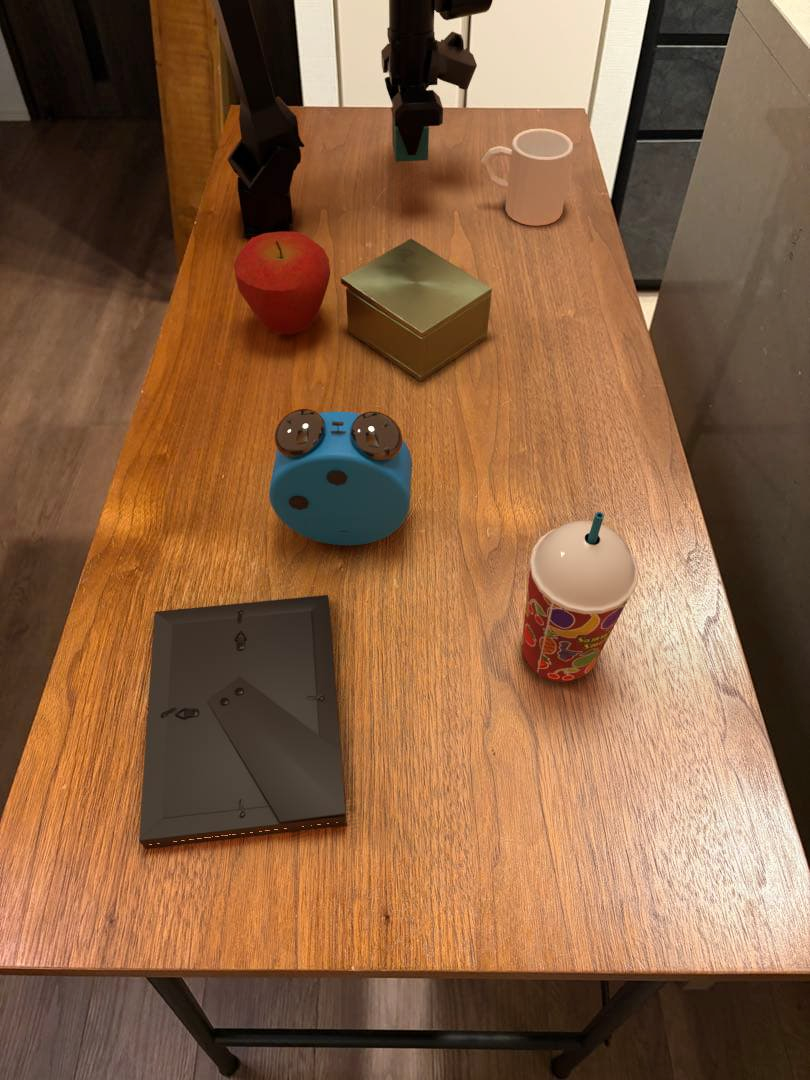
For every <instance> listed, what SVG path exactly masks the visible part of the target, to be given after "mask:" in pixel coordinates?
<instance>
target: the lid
mask: <svg viewBox="0 0 810 1080" xmlns="http://www.w3.org/2000/svg"><path fill="white" fill-rule="evenodd" d="M340 283H341V285H343V286H344V287H346V289H347V288H349V289H350V290H352V291H353V292H355V293H356V294H358V295H359V296H361V297H362V298H364V299H365V300H366V301H368V302H369V303H371V304H372V305H374V306H375V307H377V308H378V309H380V310H381V311H383V312H384V313H386V314H387V315H389V316H390V317H392V318H393V319H395V320H396V321H397V322H399V323H400V324H402V325H403V326H405V327H406V328H408V329H409V330H411V331H412V332H414V333H415V334H417V335H418V336H420V337H421V338H423V337H425V336H426V335H428V334H429V333H431V332H432V331H434V330H435V329H437V328H439V327H440V326H442V325H443V324H445V323H446V322H448V321H449V320H451V319H453V318H454V317H456V316H457V315H459V314H460V313H462V312H464V311H465V310H467V309H468V308H470V307H471V306H473V305H474V304H476V303H478V302H479V301H481V300H482V299H484V298H485V297H487V296H488V295H490V294H491V295H492V292H493V288H492V287H491V286H490V285H488V284H486V283H484V282H483V281H481V280H480V279H478V278H476V277H475V276H473V275H471V273H468V272H467V271H465V270H463V269H462V268H460V267H458V266H457V265H455V264H454V263H452V262H450V261H449V260H447V259H445V258H444V257H443V256H441V255H440V254H437V253H436V252H434V251H433V250H431V249H429V248H428V247H426V246H424V245H423V244H421V243H420V242H418V241H416V240H415V239H413V238H409V239H407V240H406V241H404V242H402V243H400V244H398V245H397V246H395V247H393V248H391V249H390V250H388V251H386V252H385V253H382V254H381V255H379V256H377V257H375V258H374V259H372V260H370V261H368V262H366V263H364V264H363V265H361V266H359V267H358V268H356V269H354V270H352V271H350V272H349V273H347V274H345V275H344V276H342V277H341V278H340Z"/></svg>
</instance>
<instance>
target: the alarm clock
mask: <svg viewBox="0 0 810 1080" xmlns="http://www.w3.org/2000/svg"><path fill="white" fill-rule="evenodd" d="M274 444H275V447H276V453H275V458H274V463H273V468H272V473H271V479H270V484H269V490H268V491H269V493H268V494H269V501H270V502H269V503H270V506H271V508H272V510H273V512H274V513H275V515H276V516H277V517H278V520H280V521H281V523H283V525H285V526H286V527H287V528H289V529H290V530H292V531H293V532H295V533H296V534H298V535H300V536H302V537H304V538H307V539H309V540H311V541H316V542H318V543H321V544H327V545H333V546H360V545H366V544H370V543H375V542H378V541H380V540H382V539H385V538H387V537H388V536H390V535H392V534H394V533H395V532H396V531H397V530H399V528H400V527H402V525H403V524H404V522H405V521H406V519H407V517H408V514H409V512H410V507H411V493H412V491H411V490H412V473H413V460H412V455H411V452H410V449H409V447H408V445H407V443H406V442H405V440H404V439H403V434H402V430H401V428H400V427H399V425H398V424H397V422H396V421H395V420H394V419H393V418H392V417H390V416H389V415H387V414H385V413H382V412H380V411H367V412H363V413H357V412H352V411H339V410H338V411H337V410H336V411H324V412H319V413H318V412H317V411H315V410H313V409H311V408H310V409H308V408H301V409H300V408H299V409H295V410H293V411H291V412H289V413H288V414H287V415H285V416H284V417H283V418H282V419H281V420H280V421H279V423H278V425H277V426H276V429H275V433H274Z"/></svg>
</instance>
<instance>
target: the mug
mask: <svg viewBox="0 0 810 1080" xmlns="http://www.w3.org/2000/svg"><path fill="white" fill-rule="evenodd" d="M573 150H574V144H573V141H572V140H571V138H570V137H569V136H567V135H566V134H564V133H562V132H560V131H557V130H554V129H550V128H540V127H539V128H530V129H527V130H523V131H521V132H519V133H518V134H516V135H515V136H514V137H513V139H512V144H511V148H509V147H506V146H503V145H498V146H494V147H491V148H489V149H488V150H487V152H486V153H485V154H484V156H483V158H482V159H481V165H482V167H483V170H484V172H485V176H486V178H487V180H488V181H489V182H491V183H492V184H494V185H495V186H497V187H499V188H502V189H504V190H506V196H505V209H504V210H505V212H506V214H507V216H508V217H509V218H510V219H512V221H515V222H517V223H519V224H522V225H526V226H533V227H534V226H536V227H541V226H547V225H550V224H552V223H555V222H556V221H557V220H559V219H560V217H561V216H562V214H563V210H564V204H565V198H566V192H567V186H568V181H569V175H570V169H571V163H572V156H573ZM502 155H504V156H507V157H509V158H510V162H509V171H508V178H507V179H508V180H504V179H502V178H500V177H499V176H498V175H496V174H495V173H494V171H493V168H492V165H491V164H490V163H491V162H492V160H493V159H494V158H495V157H498V156H502Z"/></svg>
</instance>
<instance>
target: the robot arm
mask: <svg viewBox="0 0 810 1080" xmlns="http://www.w3.org/2000/svg"><path fill="white" fill-rule="evenodd" d="M493 1H494V0H388V27H387V33H386V35H387V40H388V43H387V44H386V45H385V46H384V47H383V48H382V49H381V51H380V53H381V56H380V57H381V59H380V60H381V68H382V73H383V74H388V76H386V77H384V84H385V87H386V91H387V93H388V96H389V100H390V101H391V105H392V106H391V107H390V109H391V116H392V115H393V119H394V123H395V126H397V128H398V130H399V133H400V135H401V138H402V140H403V143H404V145H405V148H406V150H407V153H408V155H416V153H417V150H418V146H419V143H420V139H421V136H422V132H423V129H424V126H428V127H438V126H441V125H442V124H443V123H444V118H443V117H444V108H443V107H444V106H443V104H442V101H441V98H440V96H439V95H438V94H437V93H436V91H435V90H434V89H428V88H429V87H430V86H438V81H439V80H440V81H442V82H444V83H447V84H451V85H453V86H457V87H458V89H461V90H463V91H466V90H468V89H469V86H470V84H471V81H472V79H473V77H474V74H475V71H476V69H477V68H478V67H477V66H478V64H477V62H476V59H475V56H474V54H473V53H472V52H471V51H470V50H469V48H465V46H464V45H465V43H464V38H463V36H462V34H461V33H457V32H455V31H451V32H449V34H448V35H447V36H446V37H445V38H444V39H443V38H442V39H440V40H438V39H436V38H435V37H436V36H435V33H436V32H435V12H436V13H438V14H439V15H440V17H441V18H442V19H443V20H445V21H450V20H455V19H460V18H465V17H470V16H474V15H479V14H484V13H487V12H488V11H489V10H490V9H491V7H492V5H493ZM210 3H211V6H212V9H213V12H214V16H215V19H216V23H217V26H218V28H219V33H220V36H221V39H222V42H223V46H224V50H225V52H226V56H227V59H228V63H229V66H230V70H231V74H232V76H233V80H234V84H235V86H236V90H237V93H238V97H239V113H238V115H239V116H238V123H239V131H240V140H239V141H238V142H237V143H236V145H235V147H234V148H233V150H232V151H231V152H230V154H229V156H228V157H227V162H228V163H229V165H230V167H231V169H232V171H233V172H234V173H235V174H236V175H237V176H238V177H237V194H238V201H239V208H240V214H241V220H242V237H244V238H246V239H247V238H253V237H256V236H259V235H261V234H264V233H272V232H292V231H291V225H293V224H294V213H293V204H292V195H291V194H292V193H291V185H292V181H293V176H294V172H295V171H296V169H297V167H298V166H299V164H300V163H301V162H302V161H301V160H302V151H301V148H305V143H304V142H303V141H302V140H301V137H300V133H299V122H298V118H297V115H296V114H295V112H293V111H292V110H291V109H290V108H289V106H288V105H287V104H286V103H285V102H284V101H283V100H282V98H281V97H280V96H275V92H274V88H273V85H272V80H271V76H270V73H269V69H268V65H267V61H266V57H265V53H264V49H263V46H262V42H261V38H260V34H259V31H258V27H257V23H256V20H255V16H254V11H253V8H252V4H251V0H210Z"/></svg>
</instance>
